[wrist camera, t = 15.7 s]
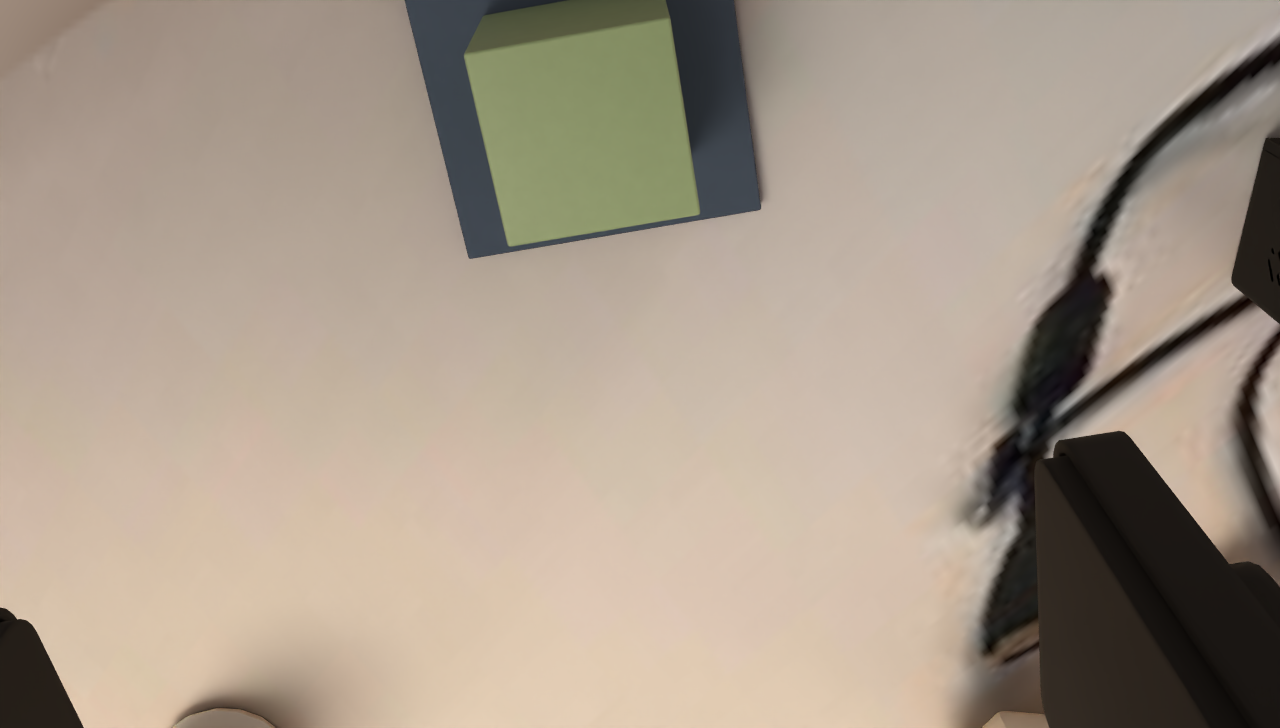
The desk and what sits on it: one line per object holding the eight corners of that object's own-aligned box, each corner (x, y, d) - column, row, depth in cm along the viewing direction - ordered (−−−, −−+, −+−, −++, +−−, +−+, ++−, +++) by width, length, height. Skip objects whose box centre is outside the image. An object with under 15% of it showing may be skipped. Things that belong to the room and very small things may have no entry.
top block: (520, 187, 32) (507, 248, 28) (481, 15, 30) (462, 53, 26) (688, 158, 32) (700, 215, 28) (661, -17, 30) (670, 16, 26)
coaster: (470, 254, 33) (468, 259, 33) (395, -48, 30) (393, -45, 29) (759, 205, 33) (761, 210, 32) (719, -106, 29) (720, -105, 29)
